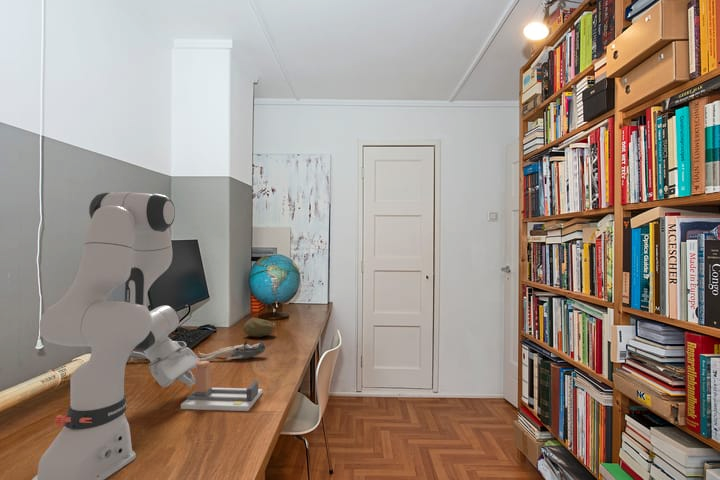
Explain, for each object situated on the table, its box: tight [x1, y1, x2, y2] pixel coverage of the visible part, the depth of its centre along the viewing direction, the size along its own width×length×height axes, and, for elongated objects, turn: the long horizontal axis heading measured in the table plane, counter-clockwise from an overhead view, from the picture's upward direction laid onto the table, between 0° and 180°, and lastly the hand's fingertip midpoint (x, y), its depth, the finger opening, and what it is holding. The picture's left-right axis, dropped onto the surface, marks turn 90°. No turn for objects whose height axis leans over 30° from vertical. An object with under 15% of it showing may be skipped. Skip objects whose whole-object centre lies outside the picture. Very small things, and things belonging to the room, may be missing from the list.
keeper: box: [194, 360, 213, 396], centre depth 131 cm, size 4×4×11 cm
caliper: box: [126, 350, 149, 364], centre depth 171 cm, size 20×1×6 cm, turn 93°
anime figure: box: [198, 340, 266, 362], centre depth 176 cm, size 10×7×30 cm
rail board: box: [180, 380, 263, 412], centre depth 131 cm, size 14×22×6 cm, turn 86°
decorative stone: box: [242, 317, 275, 338], centre depth 214 cm, size 17×11×10 cm, turn 83°
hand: (193, 384), depth 132 cm, fingers closed
